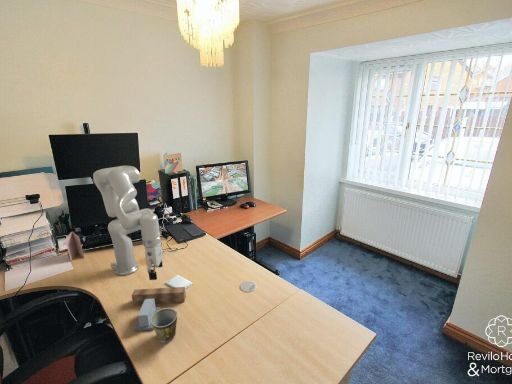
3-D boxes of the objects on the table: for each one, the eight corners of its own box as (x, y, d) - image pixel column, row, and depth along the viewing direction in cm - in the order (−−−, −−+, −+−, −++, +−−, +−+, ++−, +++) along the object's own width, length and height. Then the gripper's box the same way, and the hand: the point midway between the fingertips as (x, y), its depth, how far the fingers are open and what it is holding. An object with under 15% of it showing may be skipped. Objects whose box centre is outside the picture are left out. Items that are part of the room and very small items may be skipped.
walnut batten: (133, 305, 126) (131, 295, 124) (136, 299, 130) (134, 289, 128) (184, 302, 128) (183, 292, 126) (185, 296, 132) (184, 286, 130)
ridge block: (134, 331, 111) (131, 317, 109) (143, 310, 123) (141, 297, 120) (153, 330, 112) (151, 316, 110) (161, 309, 123) (159, 296, 121)
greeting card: (75, 252, 171) (70, 231, 166) (88, 250, 173) (83, 230, 168) (69, 261, 161) (63, 240, 156) (83, 259, 163) (78, 238, 158)
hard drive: (165, 282, 140) (181, 291, 134) (177, 274, 147) (193, 282, 140) (165, 284, 141) (181, 293, 134) (177, 276, 147) (193, 285, 141)
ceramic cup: (152, 332, 111) (149, 313, 108) (176, 323, 115) (173, 304, 112) (157, 357, 100) (154, 336, 97) (183, 345, 105) (181, 326, 101)
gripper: (154, 250, 110) (159, 284, 116) (165, 231, 127) (168, 262, 132) (136, 251, 110) (142, 285, 115) (149, 232, 126) (153, 263, 132)
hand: (156, 273), depth 124 cm, fingers open, 9 cm apart
